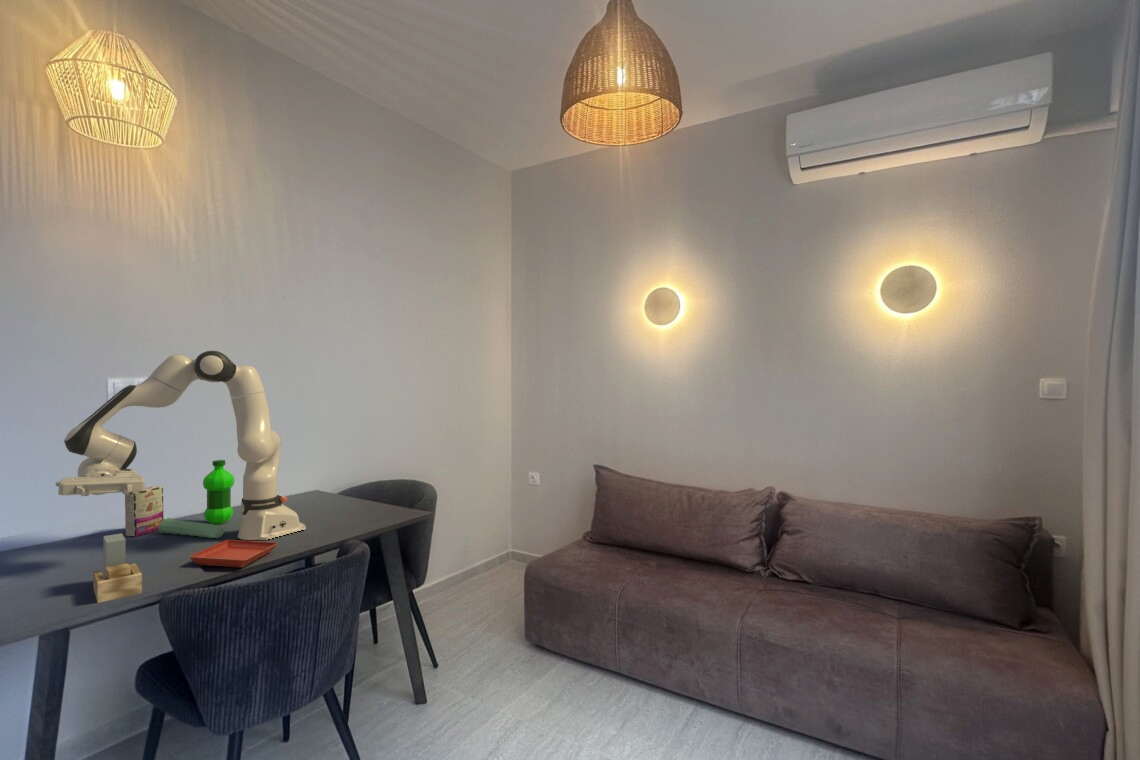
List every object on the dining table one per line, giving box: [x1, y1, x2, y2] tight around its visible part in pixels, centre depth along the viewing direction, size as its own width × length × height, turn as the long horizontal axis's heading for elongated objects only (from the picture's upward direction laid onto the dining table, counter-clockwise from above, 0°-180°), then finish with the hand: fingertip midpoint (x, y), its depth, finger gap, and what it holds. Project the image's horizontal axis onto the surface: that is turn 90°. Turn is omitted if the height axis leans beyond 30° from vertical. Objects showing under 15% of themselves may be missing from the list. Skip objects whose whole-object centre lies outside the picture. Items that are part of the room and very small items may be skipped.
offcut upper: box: [106, 563, 131, 580], centre depth 144 cm, size 4×4×3 cm
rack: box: [93, 563, 143, 604], centre depth 145 cm, size 9×12×6 cm
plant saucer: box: [188, 539, 278, 568], centre depth 172 cm, size 18×18×3 cm
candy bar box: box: [124, 485, 164, 538], centre depth 200 cm, size 11×5×16 cm, turn 168°
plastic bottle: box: [202, 459, 235, 525], centre depth 213 cm, size 10×10×25 cm
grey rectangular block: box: [102, 533, 127, 580], centre depth 150 cm, size 4×8×14 cm, turn 46°
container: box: [158, 517, 225, 539], centre depth 197 cm, size 6×6×25 cm
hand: (106, 492), depth 160 cm, fingers open, 8 cm apart
